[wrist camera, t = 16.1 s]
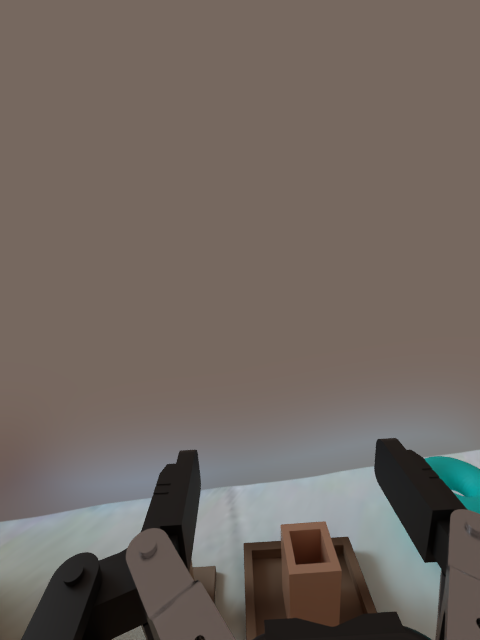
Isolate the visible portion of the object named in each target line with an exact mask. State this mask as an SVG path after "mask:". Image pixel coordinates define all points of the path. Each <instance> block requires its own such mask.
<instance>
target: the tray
mask: <svg viewBox="0 0 480 640" xmlns="http://www.w3.org/2000/svg"><path fill="white" fill-rule="evenodd" d="M331 540H332V543H333V546H334V549H335V552H336V555H337V558H338V561H339V564H340V567H341V570H342V576H341V597H340V619H339V625H340V624H342V623H344V622H346V621H349V620H351V619H353V618H355V617H358V616H360V615H362V614H367V613H377V611H376V608H375V606H374V603H373V601H372V598H371V595H370V593H369V590H368V587H367V585H366V582H365V580H364V577H363V574H362V572H361V569H360V566H359V564H358V561H357V559H356V556H355V553H354V551H353V548H352V545H351V543H350V540H349V538H348V537H337V538H331ZM244 569H245V603H246V638H247V640H252V639H254V638H255V637H257V636H259V635H261V634H263V633H265V629H264V620H269V619H286V618H287V617H286V610H285V603H284V597H283V590H282V557H281V541H272V542H256V543H244Z"/></svg>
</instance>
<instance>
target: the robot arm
mask: <svg viewBox="0 0 480 640" xmlns="http://www.w3.org/2000/svg"><path fill="white" fill-rule="evenodd" d="M374 469H375V476H376V479H377V482H378V484H379V485H380V487H381V489H382V491H383V492H384V494H385V496H386V497H387V499H388V501H389V502H390V504H391V506H392V508H393V509H394V511H395V513H396V514H397V516H398V518H399V519H400V521H401V523H402V525H403V526H404V528H405V530H406V531H407V533H408V535H409V537H410V538H411V540H412V542H413V543H414V545H415V547H416V548H417V550H418V552H419V554H420V555H421V557H422V559H423V560H424V562H425V563H427V562H437V563H438V564H439V566H440V567H441V575H440V589H439V603H438V617H437V630H436V639H435V640H480V514H479V513H476V512H474V511H470V510H468V509H467V508H466V507H465V506H464V505H463V503H462V502H461V501H460V500H459V499H458V498H457V497H456V495H455V494H454V493H453V492H452V491H451V490H450V488H449V487H448V486H447V485H446V484H445V483H444V481H443V480H442V479H440V478H439V476H438V474H437V473H436V472H435V471H434V470H432V467H431V466H430V465H429V464H428V463H427V462H426V460H425V459H424V458H423V457H421V456H420V455H418V454H416V453H415V452H414V451H412V450H406V449H405V448H404V447H403V445H402V444H401V443H400V442H399V441H398V439H396V438H389V439H378V440H377V442H376V454H375V466H374ZM200 487H201V480H200V470H199V461H198V453H197V450H185V451H180V452H179V455H178V459H177V463H176V464H167V465H166V467H165V468H164V469H163V470H162V472H161V473H160V475H159V478H158V481H157V484H156V487H155V490H154V495H153V497H152V500H151V503H150V506H149V509H148V512H147V515H146V518H145V521H144V525H143V528H142V530H141V533H139V534H138V535H137V536H136V537H135V538H134V539H133V540H132V541H131V543H130V544H129V546H128V548H127V549H125V550H124V551H122V552H120V553H118V554H115V555H112V556H110V557H107V558H105V559H102V560H99V561H98V558H97V557H96V556H95V555H94V554H92V553H88V552H87V553H80V554H77V555H75V556H73V557H71V558H69V559H68V560H66V561H65V562H64V563H63V564H62V565H61V566H60V567H59V568H58V569H57V570H56V572H55V573H54V574H53V576H52V578H51V580H50V582H49V584H48V586H47V588H46V590H45V592H44V594H43V596H42V598H41V600H40V602H39V604H38V607H37V609H36V611H35V613H34V615H33V617H32V619H31V621H30V623H29V625H28V627H27V629H26V631H25V633H24V635H23V637H22V639H21V640H111V639H113V638H115V637H117V636H119V635H121V634H124V633H126V632H128V631H130V630H132V629H134V628H136V627H138V626H140V625H141V626H142V629H143V632H144V635H145V637H146V640H235V638H234V636H233V635H232V633H231V631H230V630H229V628H228V626H227V625H226V623H225V621H224V620H223V618H222V616H221V615H220V613H219V611H218V610H217V608H216V606H215V604H214V603H213V601H212V599H211V598H210V596H209V594H208V593H207V591H206V589H205V588H204V586H203V585H202V583H201V582H200V581H199V580H196V581H194V580H193V578H192V577H191V575H190V573H189V572H190V565H191V557H192V550H193V543H194V535H195V528H196V521H197V513H198V506H199V499H200V490H201V488H200ZM264 629H265V633H263V634H261V635H259V636H257V637H255V638H254V639H252V640H431V639H430V638H428V637H427V636H425V635H423V634H422V633H420V632H418V631H416V630H413V629H411V628H408V627H405V626H402V624H401V621H400V619H399V617H398V614H397V612H383V613H367V614H362V615H360V616H358V617H355V618H353V619H351V620H349V621H346V622H344V623H342V624H340V625H337V626H334V627H330V626H326V625H322V624H318V623H314V622H311V621H307V620H303V619H299V618H286V619H269V620H264Z"/></svg>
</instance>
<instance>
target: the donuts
mask: <svg viewBox="0 0 480 640" xmlns="http://www.w3.org/2000/svg"><path fill="white" fill-rule="evenodd" d="M425 460H426V462H427V463H428V464H429V465H430V466H431V467H432V470H434V471H435V472H436V473H437V474H438V476H439V478H440V479H442V480H443V481H444V483H445V484H446V485H447V486H448V487H449V488H450V489H451V490H455V491H457V492H459V493H461V494H463V495H464V496H465V497H464V496H460V495H457V494H455V493H454V494H455V495H456V497H457V498H458V499H459V500H460V501H461V502H462V503H463V505H464V506H465V507H466V508H467V509H468V510H470V511H474V512H476V513H479V514H480V469H478V468H477V467H475V466H473V465H471V464H469V463H466V462H464V461H461V460H458V459H454V458H450V457H442V456H436V457H429V458H425Z"/></svg>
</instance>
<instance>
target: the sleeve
mask: <svg viewBox="0 0 480 640" xmlns="http://www.w3.org/2000/svg"><path fill="white" fill-rule="evenodd" d="M281 557H282V590H283V597H284V603H285V610H286V617H287V618H299V619H303V620H307V621H311V622H314V623H318V624H322V625H326V626H330V627H334V626H337V625H339V619H340V597H341V576H342V570H341V567H340V564H339V561H338V558H337V555H336V552H335V549H334V546H333V543H332V540H331V537H330V534H329V531H328V528H327V525H326V522H311V523H298V524H284V525H281Z"/></svg>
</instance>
